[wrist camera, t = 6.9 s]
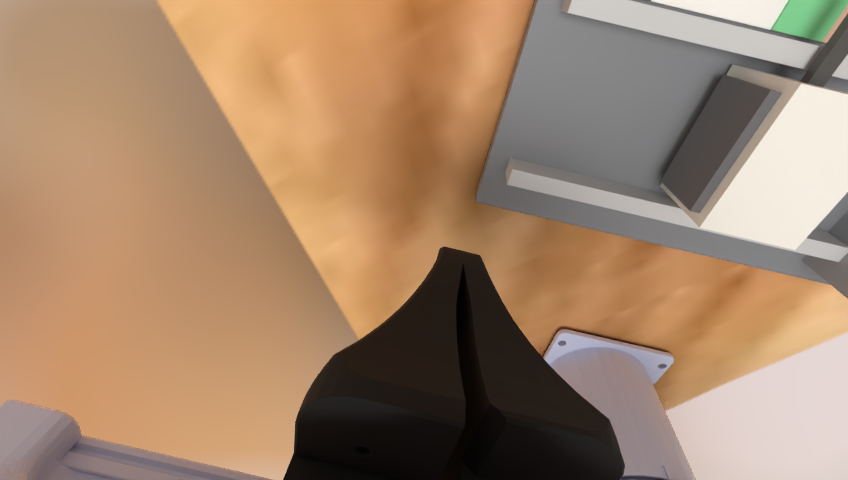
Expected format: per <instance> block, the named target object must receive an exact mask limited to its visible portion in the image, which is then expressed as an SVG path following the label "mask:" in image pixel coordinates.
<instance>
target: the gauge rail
mask: <svg viewBox="0 0 848 480" xmlns="http://www.w3.org/2000/svg"><path fill="white" fill-rule="evenodd" d="M847 14H848V0H535V1H534V4H533V8H532V11H531V14H530V18H529V21H528V24H527V27H526V31H525V34H524V37H523V40H522V44H521V47H520V50H519V54H518V57H517V60H516V63H515V67H514V70H513V73H512V76H511V80H510V83H509V86H508V90H507V93H506V96H505V99H504V103H503V106H502V109H501V112H500V116H499V119H498V122H497V126H496V129H495V132H494V135H493V139H492V142H491V145H490V149H489V152H488V155H487V158H486V162H485V165H484V168H483V171H482V175H481V178H480V181H479V185H478V188H477V191H476V202H478V203H482V204H486V205H490V206H495V207H499V208H503V209H508V210H512V211H516V212H520V213H525V214H529V215H533V216H538V217H542V218H546V219H550V220H555V221H559V222H563V223H568V224H572V225H576V226H581V227H585V228H589V229H593V230H598V231H602V232H606V233H611V234H615V235H619V236H623V237H628V238H632V239H636V240H641V241H645V242H649V243H653V244H658V245H662V246H666V247H671V248H675V249H679V250H683V251H688V252H692V253H696V254H701V255H705V256H709V257H713V258H718V259H722V260H726V261H731V262H735V263H739V264H744V265H748V266H752V267H756V268H761V269H765V270H769V271H774V272H778V273H782V274H786V275H791V276H795V277H799V278H804V279H808V280H812V281H816V282H821V283H825V284H829V285H832V286H833V287H834V288H836V289H837V290H838V291H839V292H840V293H842V294H843V295H844V296H845V297H847V298H848V192H847V193H846V195H845V196H844V197H843V198H842V199H841V200H840V201H839V202H838V203H837V204H836V206H835V207H834V208H833V209H832V210H831V211H830V212H829V213H828V214H827V216H826V217H825V218H824V219H823V220H822V221H821V222H820V223H819V224H818V225H817V227H816V228H815V229H814V230H813V231H812V232H811V233H810V234H809V235H808V237H807V238H806V239H805V240H804V241H803V242H802V243H801V244H800V245H799V246H798V248H797V249H796V250H793V249H789V248H784V247H780V246H776V245H771V244H767V243H763V242H759V241H754V240H750V239H746V238H742V237H737V236H733V235H729V234H724V233H720V232H716V231H712V230H707V229H703V228H699V227H698V226H697V224H696V223H695V222H694V221H693V220H692V219H691V218H690V217H689V216H688V215H687V214H686V213H685V212H684V211H683V210H682V209H681V208H680V207H679V206H678V205H677V203H676V202H675V201H674V200H673V199H672V198H671V197H670V196H669V195H668V194H667V193H666V192H665V191H664V190H663V189H662V188H661V187H660V185H661V183H662V182H661V179H662V178H663V176H664V174H665V172H666V171H667V169H668V167H669V166H670V164H671V162H672V161H673V159H674V157H675V156H676V154H677V152H678V151H679V149H680V147H681V145H682V144H683V142H684V140H685V139H686V137H687V135H688V134H689V132H690V130H691V129H692V127H693V125H694V124H695V122H696V120H697V118H698V117H699V115H700V113H701V112H702V110H703V108H704V107H705V105H706V103H707V102H708V100H709V98H710V97H711V95H712V93H713V91H714V90H715V88H716V86H717V85H718V83H719V81H720V80H721V78H722V76H723V75H726V74H727V73H728V71H729V69H730V68H731V66H732V64H733V65H737V66H741V67H746V68H750V69H754V70H758V71H762V72H766V73H771V74H775V75H779V76H783V77H787V78H792V79H796V80H801V79H802V78H803V76H804V75H805V73H806V72H807V71H808V69H809V68H810V66H811V65H812V63H813V62H814V61H815V59H816V58H817V56H818V55H819V53H820V52H821V51H822V49H823V48H824V46H825V45H826V43H827V42H828V41H829V39H830V38H831V36H832V35H833V34H834V32H835V31H836V29H837V28H838V26H839V25H840V24H841V22H842V21H843V19H844V18H845V16H846V15H847ZM825 87H829V88H833V89H836V90H840V91H844V92H848V55H847V56H846V57H845V59H844V60H843V61H842V63H841V64H840V65H839V67H838V68H837V69H836V71H835V72H834V73H833V75H832V76H831V77H830V79H829V80H828V82H827V83H826V84H825Z"/></svg>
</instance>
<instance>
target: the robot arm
mask: <svg viewBox="0 0 848 480" xmlns="http://www.w3.org/2000/svg"><path fill="white" fill-rule="evenodd" d="M560 341H562V342H560ZM673 362H674V358H673V356H672V355H671V354H670V353H668V352H663V351H659V350H655V349H650V348H646V347H641V346H637V345H633V344H628V343H624V342H620V341H615V340H611V339H607V338H602V337H598V336H594V335H589V334H585V333H581V332H576V331H572V330H568V329H562V330H560V331H558V332H557V334H556V335H555V337H554V339H553V341H552V342H551V344H550V346H549V348H548V349H547V351H546V353H545V355H544V357H542V356H541V355H540V354H539V353H538V352H537V351H536V349H535V348H534V347H533V346H532V345H531V343H530V342H529V341H528V339H527V338H526V337H525V335H524V334H523V333H522V331H521V330H520V329H519V327H518V326H517V325H516V323H515V322H514V320H513V319H512V317H511V315H510V314H509V312H508V310H507V309H506V307H505V305H504V304H503V302H502V300H501V298H500V296H499V294H498V292H497V291H496V289H495V287H494V285H493V283H492V281H491V278H490V276H489V274H488V272H487V270H486V267H485V265H484V263H483V261H482V258H481V257H480V255H477V254H473V253H469V252H464V251H460V250H456V249H452V248H448V247H442V248H440V250H439V253H438V257H437V260H436V262H435V264H434V266H433V268H432V269H431V271H430V272H429V274H428V275H427V277H426V278H425V280H424V281H423V282H422V284H421V285H420V286H419V287H418V289H417V290H416V291H415V292H414V294H413V295H412V296H411V297H410V298H409V299H408V300H407V301H406V302H405V304H404V305H403V306H402V307H401V308H400V309H398V310H397V311H396V312H395V313H394V314H393V315H392V316H391V317H390V318H388V319H387V320H386V321H385V322H384V323H382V324H381V325H380V326H379V327H377V328H376V329H374V330H373V331H372V332H370V333H369V334H367V335H366V336H365V337H363V338H362V339H360V340H359V341H357V342H356V343H354V344H352V345H350V346H349V347H347V348H345V349H343V350H341V351H340V352H338V353H336V354H335V355H333V357H332V358H331V359H330V360H329V362H328V363H327V364H326V365H325V366H324V368H323V369H322V370H321V372H320V373H319V374H318V376H317V377H316V379H315V380H314V382H313V383H312V385H311V387H310V389H309V390H308V392H307V394H306V396H305V398H304V400H303V403H302V405H301V407H300V410H299V412H298V415H297V419H296V422H295V442H294V454H293V457H292V459H291V462H290V464H289V467H288V469H287V472H286V474H285V477H284V479H283V480H696V479H695V477H694V475H693V472H692V470H691V468H690V466H689V463H688V461H687V459H686V457H685V455H684V453H683V450H682V448H681V446H680V444H679V441H678V439H677V437H676V435H675V432H674V430H673V428H672V426H671V424H670V422H669V419H668V417H667V415H666V412H665V410H664V408H663V406H662V404H661V401H660V399H659V397H658V395H657V393H656V390H655V388H654V386H653V385H654V384H655V383H656V382H657V381H658V380H659V378H660V377H661V376H662V375H663V374H664V373H665V371H666V370H667V369H668V368H669V367H670V366H671V364H672V363H673ZM0 480H271V479H268V478H263V477H259V476H255V475H250V474H246V473H242V472H238V471H233V470H229V469H225V468H220V467H216V466H212V465H207V464H203V463H199V462H194V461H190V460H186V459H182V458H177V457H173V456H169V455H165V454H160V453H156V452H152V451H147V450H143V449H139V448H134V447H130V446H126V445H122V444H117V443H113V442H109V441H104V440H100V439H96V438H91V437H87V436H82V435H81V430H80V427H79V425H78V423H77V421H76V420H75V419H74V418H73V417H71V416H70V415H68V414H67V413H64V412H61V411H59V410H55V409H51V408H47V407H42V406H38V405H34V404H29V403H25V402H21V401H16V400H9V401H6V402H5V403H4V404H2V405H1V406H0Z"/></svg>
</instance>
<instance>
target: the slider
mask: <svg viewBox="0 0 848 480" xmlns="http://www.w3.org/2000/svg"><path fill="white" fill-rule="evenodd" d="M847 55H848V14H847V15H846V16H845V18H844V19H843V21H842V22H841V24H840V25H839V26H838V28H837V29H836V31H835V32H834V34H833V35H832V36H831V38H830V39H829V41H828V42H827V43H826V45H825V46H824V48H823V49H822V51H821V52H820V53H819V55H818V56H817V58H816V59H815V61H814V62H813V63H812V65H811V66H810V68H809V69H808V71H807V72H806V73H805V75H804V76H803V78H802V79H801V80H796V79H792V78H787V77H783V76H779V75H775V74H771V73H766V72H762V71H758V70H754V69H750V68H746V67H741V66H737V65H733V64H732V66H731V68H730V69H729V71H728V73H727V74H726V75H723V76H722V78H721V80H720V81H719V83H718V85H717V86H716V88H715V90H714V91H713V93H712V95H711V97H710V98H709V100H708V102H707V103H706V105H705V107H704V108H703V110H702V112H701V113H700V115H699V117H698V118H697V120H696V122H695V124H694V125H693V127H692V129H691V130H690V132H689V134H688V135H687V137H686V139H685V140H684V142H683V144H682V145H681V147H680V149H679V151H678V152H677V154H676V156H675V157H674V159H673V161H672V162H671V164H670V166H669V167H668V169H667V171H666V172H665V174H664V176H663V178H662V179H661V182H662V183H661V185H660V187H661V188H662V189H663V190H664V191H665V192H666V193H667V194H668V195H669V196H670V197H671V198H672V199H673V200H674V201H675V202H676V203H677V205H678V206H679V207H680V208H681V209H682V210H683V211H684V212H685V213H686V214H687V215H688V216H689V217H690V218H691V219H692V220H693V221H694V222H695V223H696V224H697V226H698V227H699V228H703V229H707V230H712V231H716V232H720V233H724V234H729V235H733V236H737V237H742V238H746V239H750V240H754V241H759V242H763V243H767V244H771V245H776V246H780V247H784V248H789V249H793V250H796V249H797V248H798V246H799V245H800V244H801V243H802V242H803V241H804V240H805V239H806V238H807V237H808V235H809V234H810V233H811V232H812V231H813V230H814V229H815V228H816V227H817V225H818V224H819V223H820V222H821V221H822V220H823V219H824V218H825V217H826V216H827V214H828V213H829V212H830V211H831V210H832V209H833V208H834V207H835V206H836V204H837V203H838V202H839V201H840V200H841V199H842V198H843V197H844V196H845V195H846V193H847V192H848V92H844V91H840V90H836V89H833V88H829V87H825V84H826V83H827V82H828V80H829V79H830V77H831V76H832V75H833V73H834V72H835V71H836V69H837V68H838V67H839V65H840V64H841V63H842V61H843V60H844V59H845V57H846V56H847Z"/></svg>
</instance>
